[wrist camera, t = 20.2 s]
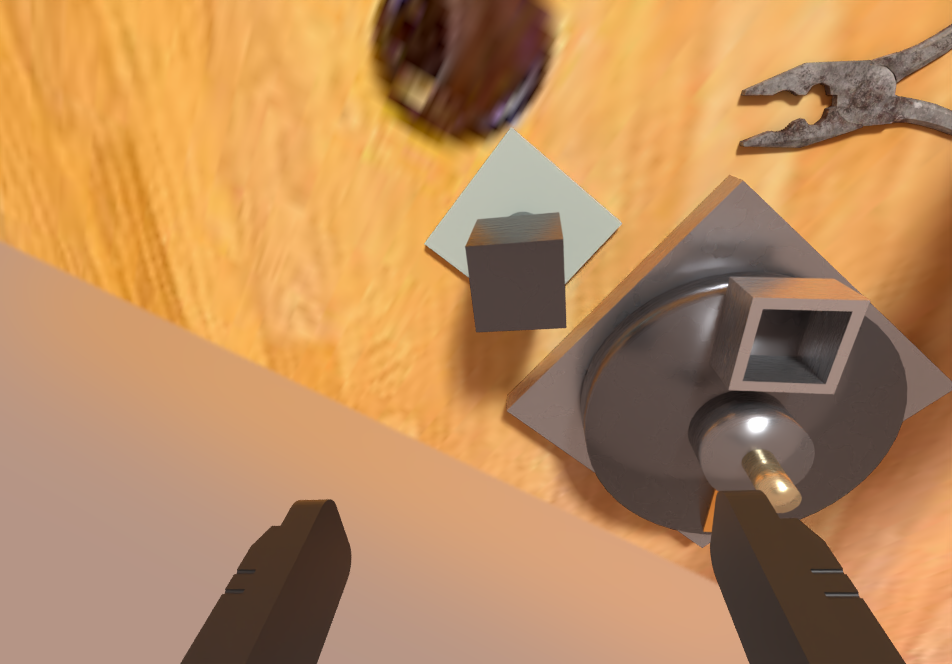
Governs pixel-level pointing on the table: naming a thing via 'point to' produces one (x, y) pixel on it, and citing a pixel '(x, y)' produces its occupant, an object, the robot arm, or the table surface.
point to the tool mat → (524, 204)
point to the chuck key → (517, 272)
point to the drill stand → (675, 263)
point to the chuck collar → (741, 398)
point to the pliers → (857, 95)
